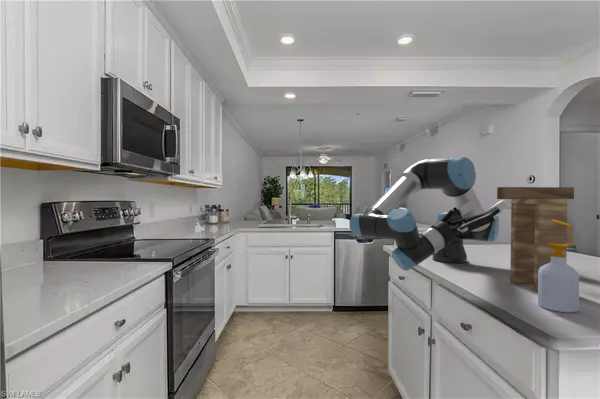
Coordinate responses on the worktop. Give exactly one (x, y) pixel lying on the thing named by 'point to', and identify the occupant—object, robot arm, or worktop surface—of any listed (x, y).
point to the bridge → (535, 236)
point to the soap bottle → (558, 281)
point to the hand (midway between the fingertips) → (489, 203)
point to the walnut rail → (535, 192)
